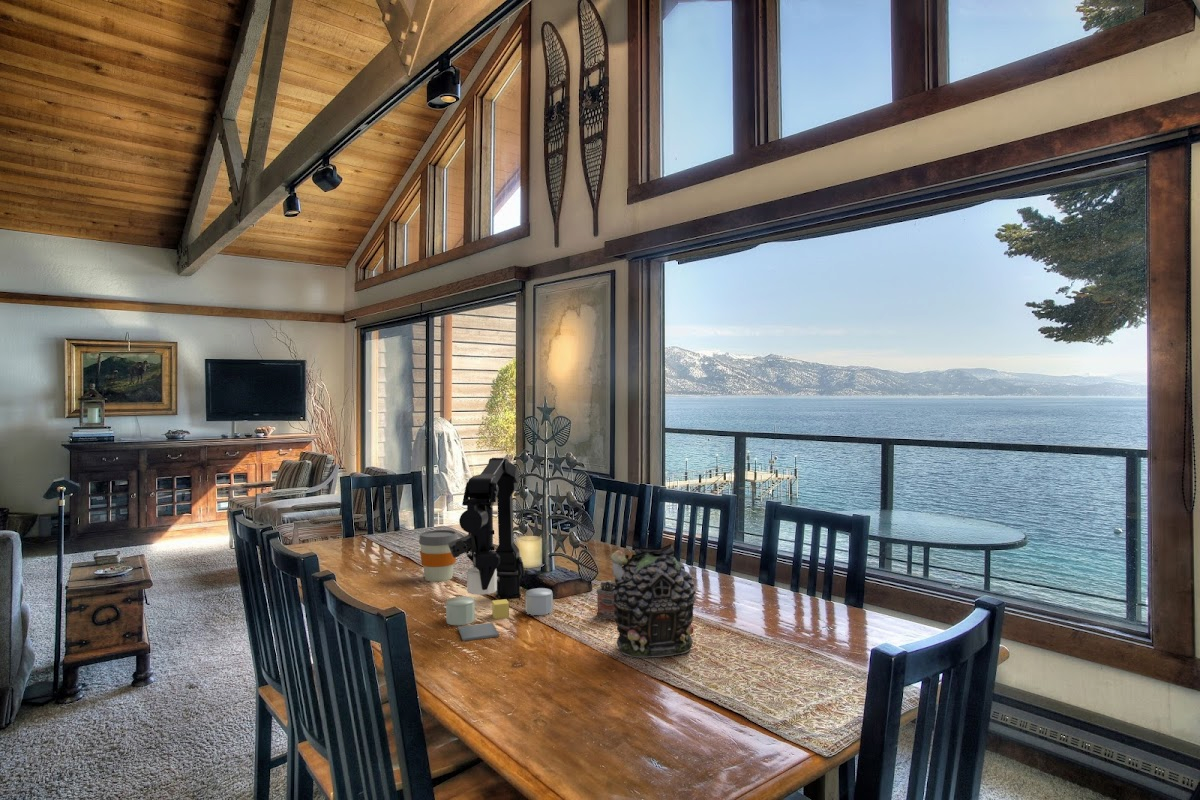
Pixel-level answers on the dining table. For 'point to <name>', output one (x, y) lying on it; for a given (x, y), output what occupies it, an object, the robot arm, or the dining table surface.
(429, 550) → the reusable coffee cup
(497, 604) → the yellow cube
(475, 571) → the cream cup
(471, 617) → the sage cup
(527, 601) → the light grey cylinder
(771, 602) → the dining table surface
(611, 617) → the lighter
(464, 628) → the slate coaster
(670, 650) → the decorative house
